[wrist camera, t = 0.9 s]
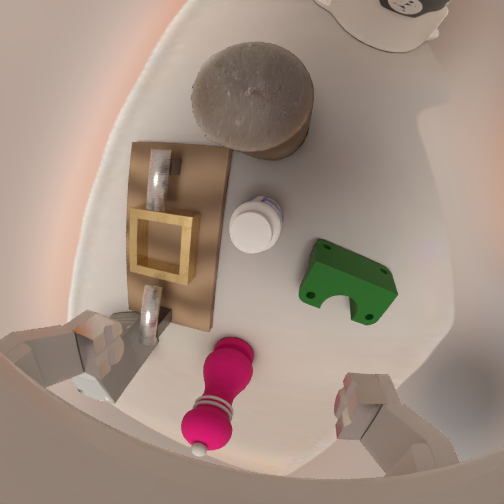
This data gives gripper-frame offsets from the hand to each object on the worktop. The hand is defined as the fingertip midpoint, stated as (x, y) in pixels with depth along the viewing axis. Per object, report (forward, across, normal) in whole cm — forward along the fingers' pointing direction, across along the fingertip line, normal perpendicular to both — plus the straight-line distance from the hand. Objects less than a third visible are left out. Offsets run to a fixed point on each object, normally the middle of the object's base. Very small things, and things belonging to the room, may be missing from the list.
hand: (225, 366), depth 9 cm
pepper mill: (+28, +3, +20) cm, 35 cm away
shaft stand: (+27, +14, +3) cm, 31 cm away
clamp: (+28, -10, +4) cm, 30 cm away
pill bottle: (+27, +2, -2) cm, 27 cm away
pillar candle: (+27, +3, -14) cm, 30 cm away
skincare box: (+29, +21, +21) cm, 42 cm away
